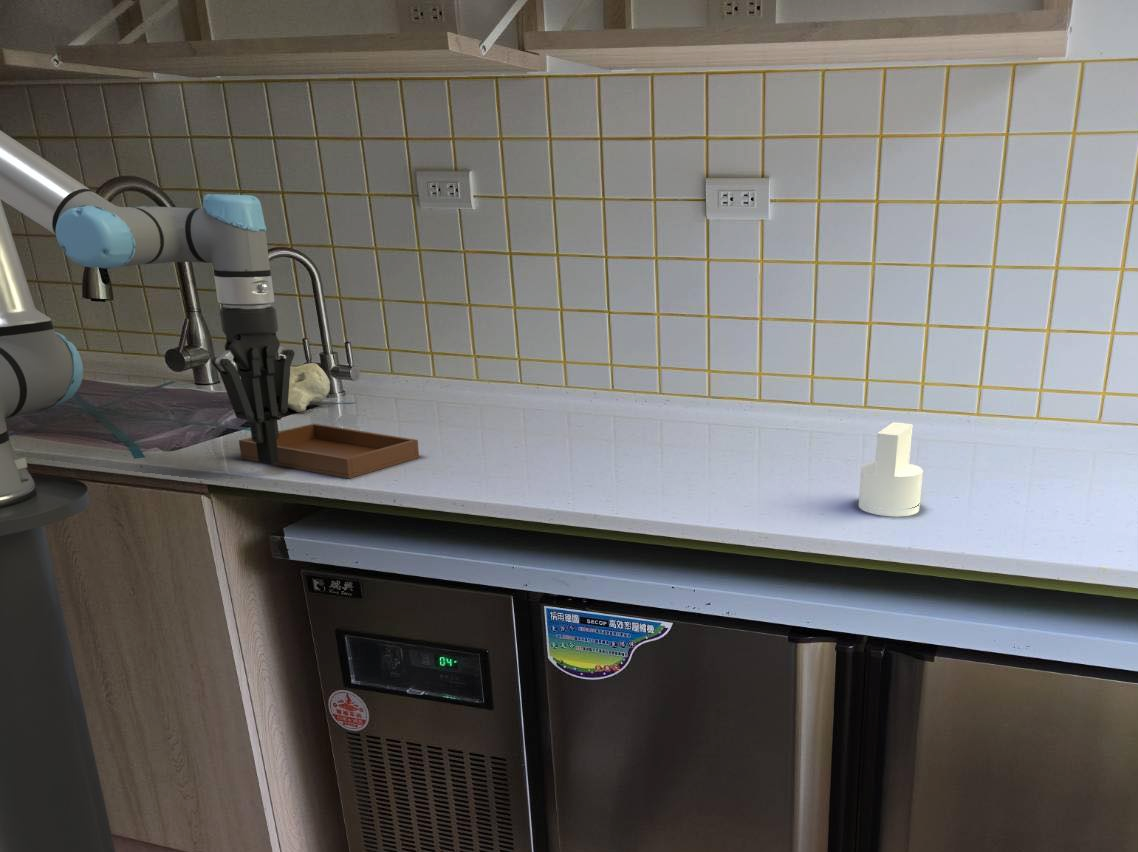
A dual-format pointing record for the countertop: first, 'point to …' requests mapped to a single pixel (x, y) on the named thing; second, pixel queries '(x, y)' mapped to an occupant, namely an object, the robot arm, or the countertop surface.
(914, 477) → the cylinder with rectangular tab
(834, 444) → the countertop surface
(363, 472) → the tray
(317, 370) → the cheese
